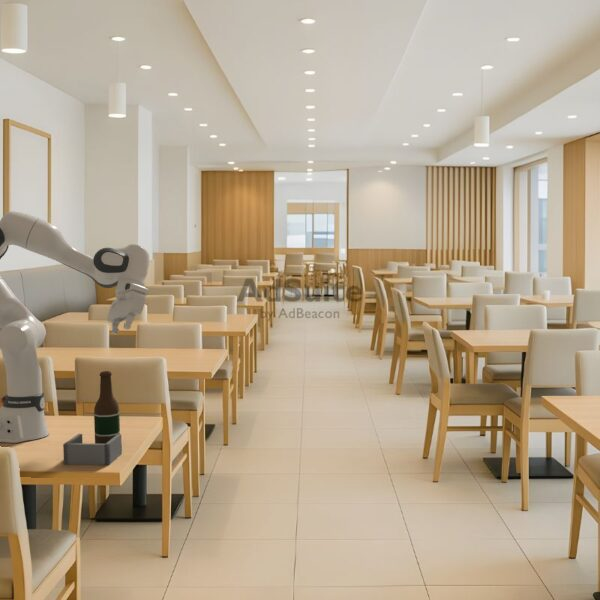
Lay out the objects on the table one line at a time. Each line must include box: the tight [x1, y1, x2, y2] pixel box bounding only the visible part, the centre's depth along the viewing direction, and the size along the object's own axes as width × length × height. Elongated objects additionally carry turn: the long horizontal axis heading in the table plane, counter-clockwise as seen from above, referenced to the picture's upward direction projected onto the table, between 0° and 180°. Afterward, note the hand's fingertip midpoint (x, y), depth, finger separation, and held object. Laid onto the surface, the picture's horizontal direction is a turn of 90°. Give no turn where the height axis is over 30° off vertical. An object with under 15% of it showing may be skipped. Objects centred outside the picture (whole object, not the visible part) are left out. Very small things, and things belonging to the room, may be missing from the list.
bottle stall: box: [62, 433, 123, 466], centre depth 237 cm, size 13×12×6 cm
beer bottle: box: [93, 370, 121, 444], centre depth 249 cm, size 8×8×24 cm
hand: (120, 331), depth 260 cm, fingers open, 8 cm apart
